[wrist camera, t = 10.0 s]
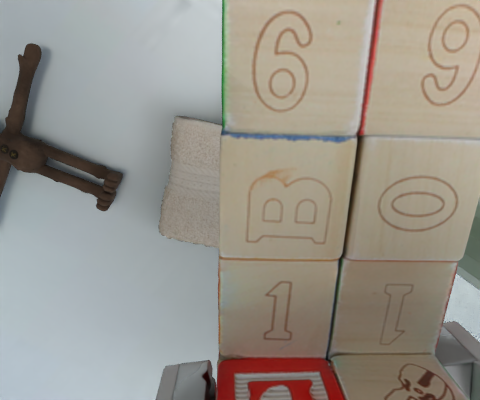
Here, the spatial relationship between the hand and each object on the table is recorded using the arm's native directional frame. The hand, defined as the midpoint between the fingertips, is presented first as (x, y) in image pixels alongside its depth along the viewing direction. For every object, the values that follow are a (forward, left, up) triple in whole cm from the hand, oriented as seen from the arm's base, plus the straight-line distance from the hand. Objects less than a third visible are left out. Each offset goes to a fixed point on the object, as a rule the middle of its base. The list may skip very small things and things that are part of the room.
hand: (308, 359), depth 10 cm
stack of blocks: (0, 0, -8) cm, 8 cm away
